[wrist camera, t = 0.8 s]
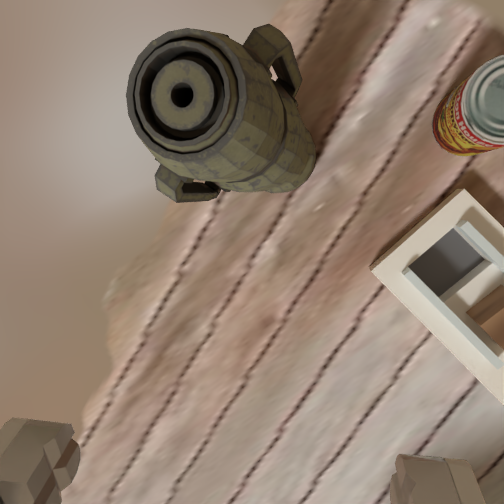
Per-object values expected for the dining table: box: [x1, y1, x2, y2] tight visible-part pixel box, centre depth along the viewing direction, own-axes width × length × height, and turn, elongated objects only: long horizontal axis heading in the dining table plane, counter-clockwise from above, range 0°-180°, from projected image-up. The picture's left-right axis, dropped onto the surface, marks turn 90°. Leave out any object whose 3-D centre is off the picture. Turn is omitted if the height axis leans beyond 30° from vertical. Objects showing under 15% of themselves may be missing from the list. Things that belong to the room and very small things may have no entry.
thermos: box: [126, 24, 316, 203], centre depth 35 cm, size 9×12×35 cm
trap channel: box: [369, 189, 504, 405], centre depth 47 cm, size 25×14×5 cm, turn 45°
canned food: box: [432, 55, 504, 156], centre depth 41 cm, size 8×8×12 cm
